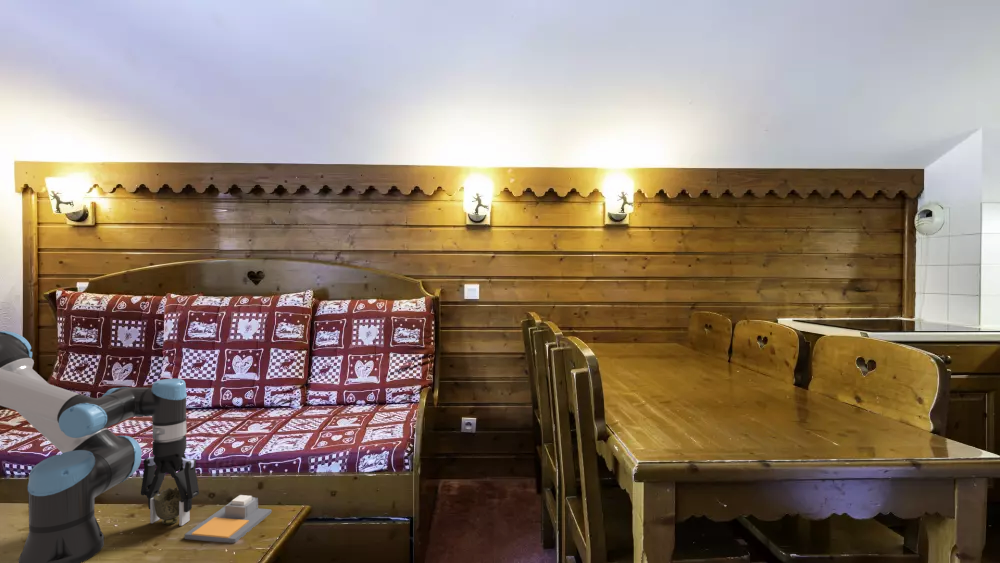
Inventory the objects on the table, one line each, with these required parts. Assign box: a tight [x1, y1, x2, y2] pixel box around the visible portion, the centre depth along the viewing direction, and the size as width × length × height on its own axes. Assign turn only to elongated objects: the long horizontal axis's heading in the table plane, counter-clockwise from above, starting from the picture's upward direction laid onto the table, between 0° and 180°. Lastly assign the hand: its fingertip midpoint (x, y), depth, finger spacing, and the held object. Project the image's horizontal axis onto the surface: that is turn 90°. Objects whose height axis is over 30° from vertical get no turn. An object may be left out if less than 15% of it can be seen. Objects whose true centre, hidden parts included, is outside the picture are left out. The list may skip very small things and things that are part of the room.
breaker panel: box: [184, 496, 272, 544], centre depth 128 cm, size 14×15×4 cm
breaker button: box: [231, 494, 253, 506], centre depth 133 cm, size 4×3×3 cm
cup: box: [153, 486, 182, 526], centre depth 130 cm, size 8×7×8 cm
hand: (170, 521), depth 130 cm, fingers open, 8 cm apart
